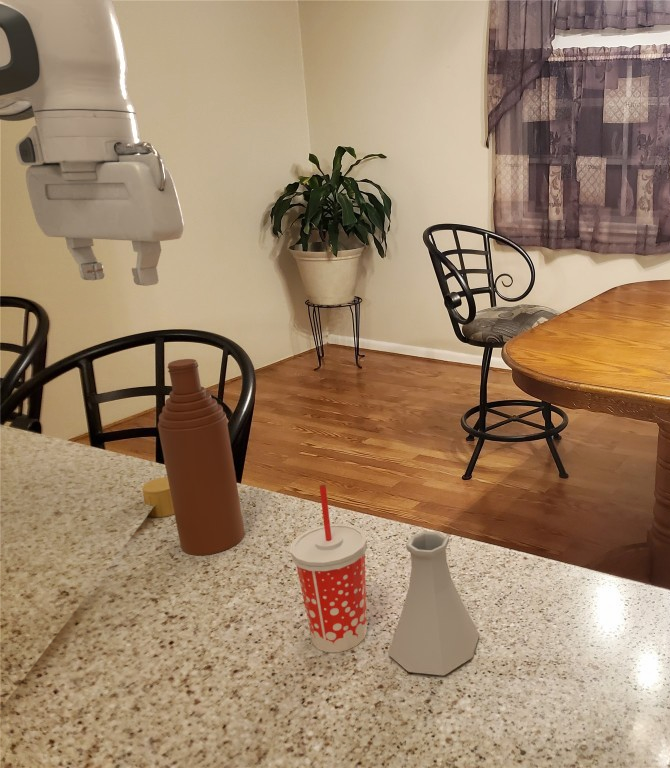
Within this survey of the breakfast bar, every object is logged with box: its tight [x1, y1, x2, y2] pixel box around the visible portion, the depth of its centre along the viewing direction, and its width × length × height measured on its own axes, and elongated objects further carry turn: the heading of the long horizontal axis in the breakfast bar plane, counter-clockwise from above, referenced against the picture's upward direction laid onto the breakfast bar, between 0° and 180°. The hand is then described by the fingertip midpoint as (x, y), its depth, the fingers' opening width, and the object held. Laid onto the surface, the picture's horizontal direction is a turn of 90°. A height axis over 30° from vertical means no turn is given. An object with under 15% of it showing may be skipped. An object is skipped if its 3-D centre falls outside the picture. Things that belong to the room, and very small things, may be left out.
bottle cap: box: [141, 476, 175, 518], centre depth 81 cm, size 4×4×3 cm
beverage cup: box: [290, 484, 368, 653], centre depth 57 cm, size 6×6×14 cm
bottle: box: [157, 358, 245, 556], centre depth 71 cm, size 6×6×20 cm
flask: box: [387, 530, 480, 676], centre depth 55 cm, size 7×7×10 cm
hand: (119, 282), depth 73 cm, fingers open, 8 cm apart
